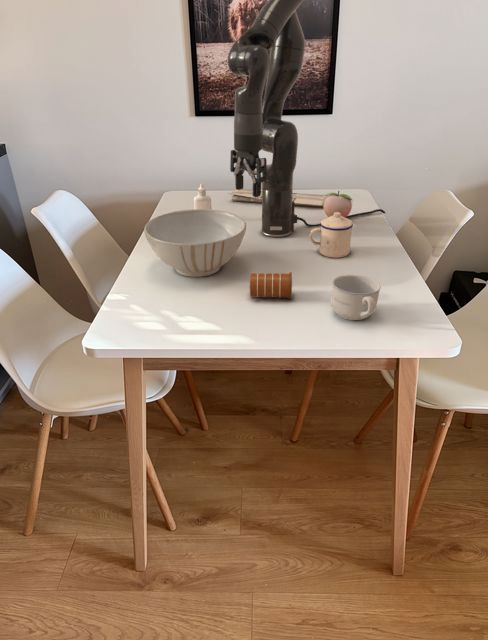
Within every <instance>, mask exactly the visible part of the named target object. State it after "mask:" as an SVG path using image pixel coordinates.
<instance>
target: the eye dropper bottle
mask: <svg viewBox="0 0 488 640" xmlns="http://www.w3.org/2000/svg"><path fill="white" fill-rule="evenodd" d="M206 189H207V188H206V187H204V185H203V183H200V185H199V187H198V188H197V195H195V196H194V198H193V209H209V210H213V209H212V198H211V196H210V195H208V194H207V192H206V191H207V190H206Z"/></svg>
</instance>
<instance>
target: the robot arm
mask: <svg viewBox="0 0 488 640" xmlns="http://www.w3.org/2000/svg"><path fill="white" fill-rule="evenodd" d="M304 1H305V0H268V1H267V2H266V3H265V4H264V5H263V6H262V7H261V9H260V11H259V12H258V14H257V15H256V17H255V19H254V21H253V22H252V24H251V25H250V27H249V28H247V30H245V32H243V34H241V35H240V36H239V37H238V39H236V41H234V43H233V44H232V46H231V47H230V49H229V51H228V55H227V67H228V69H229V71H230V72H231V73H232V75H236V76H240V77H241V76H242V77H248V81H247V84H246V85H244V86H243V85H242V86H240V87H238V88H236V89H235V91H234V118H233V119H234V120H233V149H231V150H230V161H229V163H230V165H229V166H230V167H229V169H230V172H231V173H233V176H234V178H235V179H234V181H235V182H234V183H235V190H236V189H237V190H240V189H243V190H244V173H245V172H246V173H248V176H249V177H251V180H252V190H253V196H254V197H259V196H260V195H261V191H262V203H261V234H262V235H263V236H265V237H270V238H284V237H288V236H290V235H291V234H292V233H294V231H295V224H298V221H301V222H303V224H304V225H305V226H306V227H309V228H313V227H314V228H316V227H321V225H320V223H316V224H312V223H308V222H307V221H306V219H304V218H302V217H299V216H298V215H297V214H296V213H295V206H296V205H295V203H294V201H292V193H294V192H293V191H294V190H293V188H294V186H293V185H294V173H295V169H296V165H297V158H298V157H297V155H298V146H299V145H298V144H299V133H298V129H297V127H296V125H295V124H294V123H293V122H291V121H289V120H282V116H283V110H284V105H285V101H286V99H287V97H288V95H289V93H290V91H291V90H292V89H293V86H294V85H295V83H296V82H297V80H298V79H299V77H300V75H301V72H302V70H303V63H304V57H305V51H306V39H305V35H304V31H303V28H302V26H301V25H302V24H301V22H300V20H299V15H298V14H297V9H298V8H299V7H300V6H301V5H302V3H303V2H304ZM269 49H270V52H269V51H268V50H269ZM263 95H264V97H263ZM261 151H264V152H267V153H271V154H272V160H271V163H270V164H267V157H262V158H261V157H260V152H261ZM378 212H379V213H380V212H381V213H382V214H386V211H385V210H383V209H382V208H378V209H374V210H370V211H364V212H360V213H359V212H358V213H354V214H348V215H347V216H346V217H345V218H348V219H351V218H355V217H360V216H365V215H371V214H374V213H375V214H376V213H378Z"/></svg>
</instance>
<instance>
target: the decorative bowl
mask: <svg viewBox="0 0 488 640" xmlns="http://www.w3.org/2000/svg"><path fill="white" fill-rule="evenodd" d="M246 230H247V223H246V221H245V220H244V219H243V218H242V217H240V216H239V215H237V214H235V213H232V212H228V211H224V210H219V209H212V210H209V209H194V208H193V209H184V210H183V209H181V210H176V211H171V212H167V213H164V214H160V215H158V216H156V217H154V218H152V219H150V220H149V221H147V223H146V224H145V225H144V229H143V232H144V235H145V238H146V240H147V242H148V245H150V247H151V249H152V250H153V252H154V254H155V255H157V257H158V258H159V259H160V260H161V261H162V262H163V263H164V264H166V265H168V266H169V267H171V268H173V269H175V271H176V272H177V273H178V274H180V275H182V276H185V277H192V278H200V277H208V276H211V275H213V274H215V273H218V271H220V269H221V267H222V266H224V265H225V264H226V263H228V262H229V261H230V260H231V259H232V258H233V257H234V256H235V254H236V253H237V251H238V250H239V248H240V246H241V245H242V243H243V240H244V237H245V234H246Z"/></svg>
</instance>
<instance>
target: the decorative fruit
mask: <svg viewBox="0 0 488 640" xmlns="http://www.w3.org/2000/svg"><path fill="white" fill-rule="evenodd" d="M324 195H325V196H327V195H329V196H328V197H327V198H326V199H325V201H324V207H323V211H324V214H325V215H326V216H327V217H330V216H333V215H334V213H335V212H339V213H341V216H343V217H346V216H349V215H350V213H351V212H352V208H353V203H352V201H353V198H352V197H351V196H350V195H348V194H344V193H341V194H340V190H338V191H337V193H336V192H329V193H326V194H324Z"/></svg>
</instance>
